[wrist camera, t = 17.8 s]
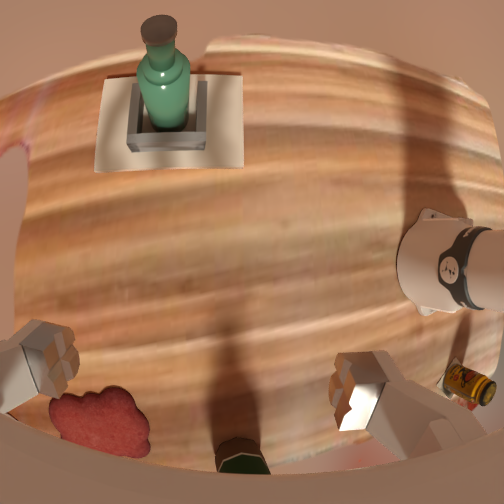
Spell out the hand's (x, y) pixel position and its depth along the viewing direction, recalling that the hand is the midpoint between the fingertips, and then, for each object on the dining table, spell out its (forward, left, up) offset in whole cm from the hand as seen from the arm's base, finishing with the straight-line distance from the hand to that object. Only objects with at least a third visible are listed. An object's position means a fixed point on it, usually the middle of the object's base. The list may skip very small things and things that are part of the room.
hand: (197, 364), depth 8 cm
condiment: (-52, +27, -32) cm, 67 cm away
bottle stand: (+3, -20, -32) cm, 38 cm away
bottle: (+3, -20, -31) cm, 37 cm away
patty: (+17, +25, -33) cm, 45 cm away
